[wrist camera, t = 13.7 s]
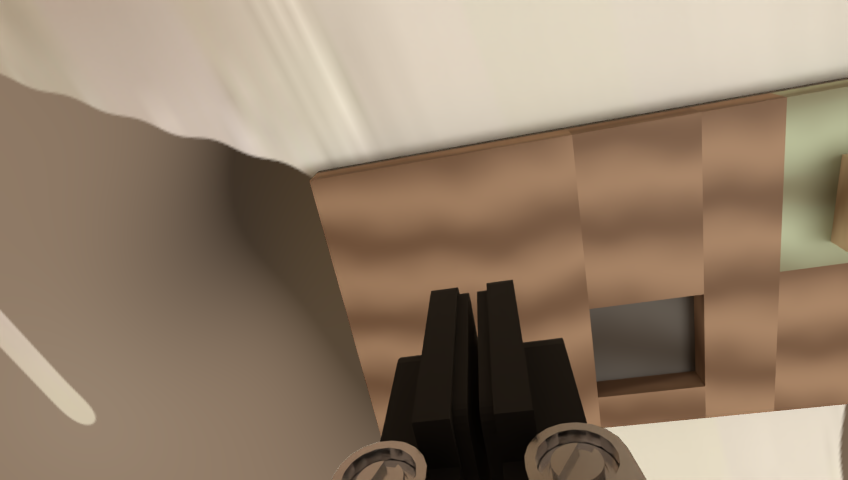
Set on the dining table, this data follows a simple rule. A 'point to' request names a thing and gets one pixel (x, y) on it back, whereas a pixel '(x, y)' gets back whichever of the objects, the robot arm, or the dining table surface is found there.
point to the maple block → (841, 208)
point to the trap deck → (621, 253)
